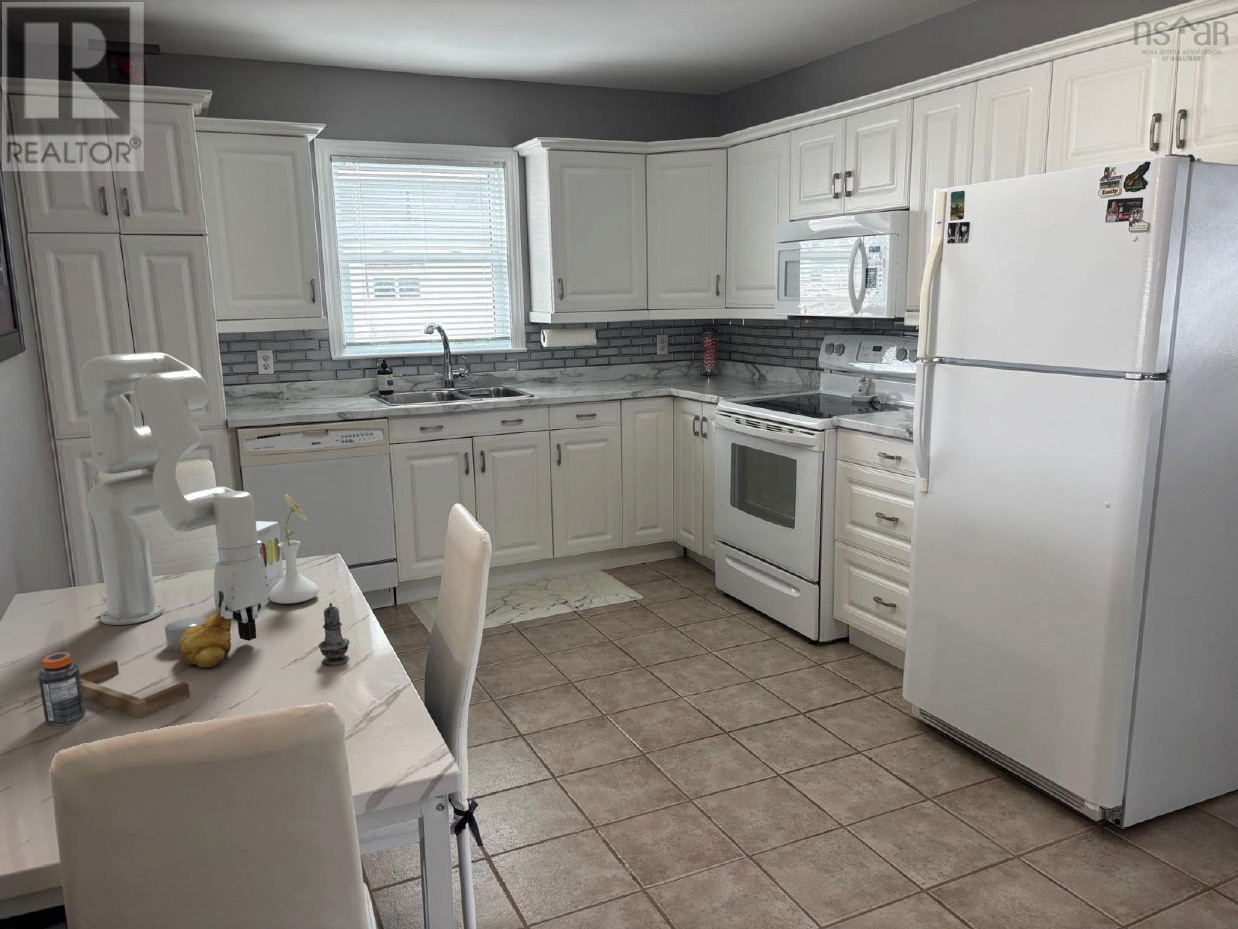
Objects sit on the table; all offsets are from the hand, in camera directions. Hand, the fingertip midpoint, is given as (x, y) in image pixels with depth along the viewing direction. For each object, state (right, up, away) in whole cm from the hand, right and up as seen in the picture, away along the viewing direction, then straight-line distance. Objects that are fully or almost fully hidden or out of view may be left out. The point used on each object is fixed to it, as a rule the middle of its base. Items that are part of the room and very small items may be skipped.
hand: (248, 638), depth 184 cm
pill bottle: (-18, -8, -31) cm, 37 cm away
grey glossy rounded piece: (-13, -2, +1) cm, 13 cm away
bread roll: (-5, -3, -7) cm, 9 cm away
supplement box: (-11, +5, +33) cm, 35 cm away
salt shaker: (+21, -3, -9) cm, 23 cm away
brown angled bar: (-13, -6, -22) cm, 26 cm away
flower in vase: (0, +4, +28) cm, 28 cm away
